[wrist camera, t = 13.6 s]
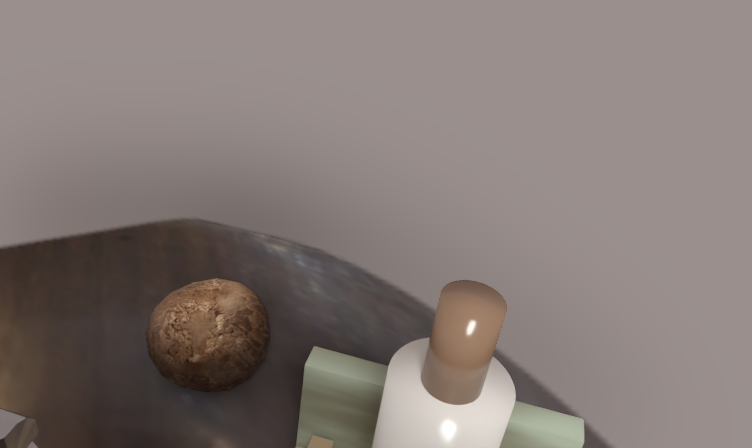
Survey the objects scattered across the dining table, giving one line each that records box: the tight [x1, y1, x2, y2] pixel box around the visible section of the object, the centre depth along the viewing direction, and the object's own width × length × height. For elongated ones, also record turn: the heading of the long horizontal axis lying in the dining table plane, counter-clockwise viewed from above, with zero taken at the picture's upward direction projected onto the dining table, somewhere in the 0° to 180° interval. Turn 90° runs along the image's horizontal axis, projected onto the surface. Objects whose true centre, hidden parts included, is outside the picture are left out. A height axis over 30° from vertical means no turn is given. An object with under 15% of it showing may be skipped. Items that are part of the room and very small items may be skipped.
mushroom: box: [146, 278, 270, 391], centre depth 48 cm, size 8×8×6 cm
